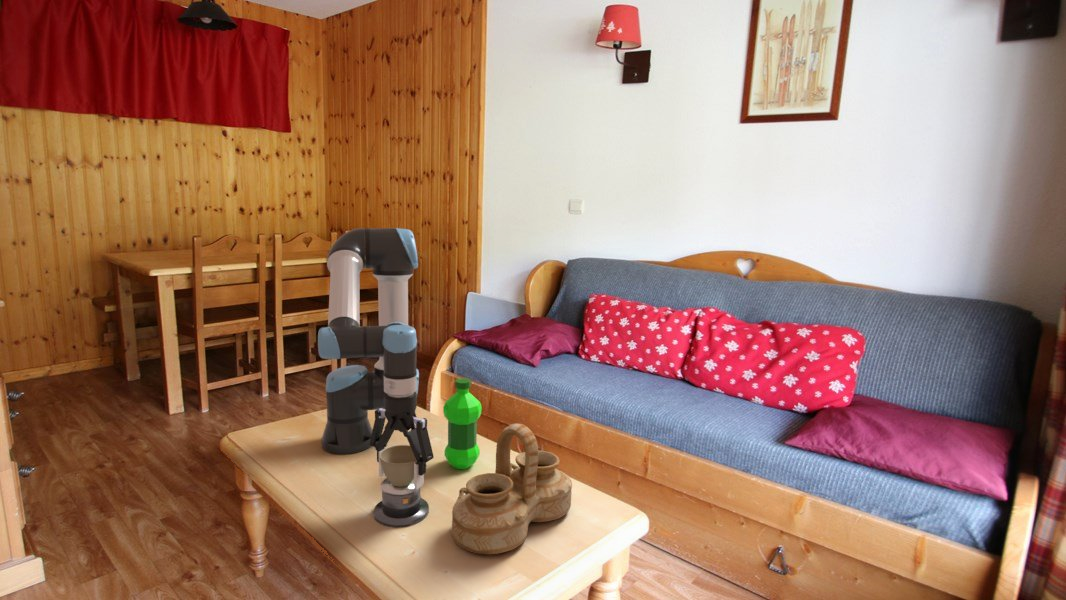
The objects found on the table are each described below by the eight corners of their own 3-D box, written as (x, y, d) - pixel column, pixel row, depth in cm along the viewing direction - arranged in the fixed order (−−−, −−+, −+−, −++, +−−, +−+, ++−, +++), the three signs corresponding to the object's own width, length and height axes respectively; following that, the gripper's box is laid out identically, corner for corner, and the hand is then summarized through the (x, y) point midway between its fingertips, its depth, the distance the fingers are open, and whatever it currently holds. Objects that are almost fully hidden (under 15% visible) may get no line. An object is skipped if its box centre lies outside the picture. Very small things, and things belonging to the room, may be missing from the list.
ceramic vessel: (527, 483, 165) (530, 394, 160) (584, 506, 154) (589, 412, 149) (433, 538, 139) (433, 434, 134) (494, 571, 128) (497, 459, 123)
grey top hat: (369, 503, 152) (369, 475, 150) (421, 494, 157) (421, 467, 155) (378, 531, 140) (378, 501, 139) (434, 520, 145) (434, 491, 144)
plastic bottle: (467, 476, 167) (468, 389, 162) (436, 467, 172) (436, 382, 167) (487, 462, 176) (488, 379, 171) (456, 454, 181) (457, 372, 176)
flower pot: (385, 495, 140) (385, 466, 139) (375, 476, 149) (375, 448, 148) (428, 486, 145) (427, 458, 143) (415, 468, 154) (415, 441, 152)
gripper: (352, 387, 144) (354, 475, 149) (429, 406, 134) (429, 500, 138) (374, 379, 151) (375, 463, 155) (449, 396, 141) (449, 486, 145)
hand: (401, 480), depth 147 cm, fingers closed on flower pot, 10 cm apart
